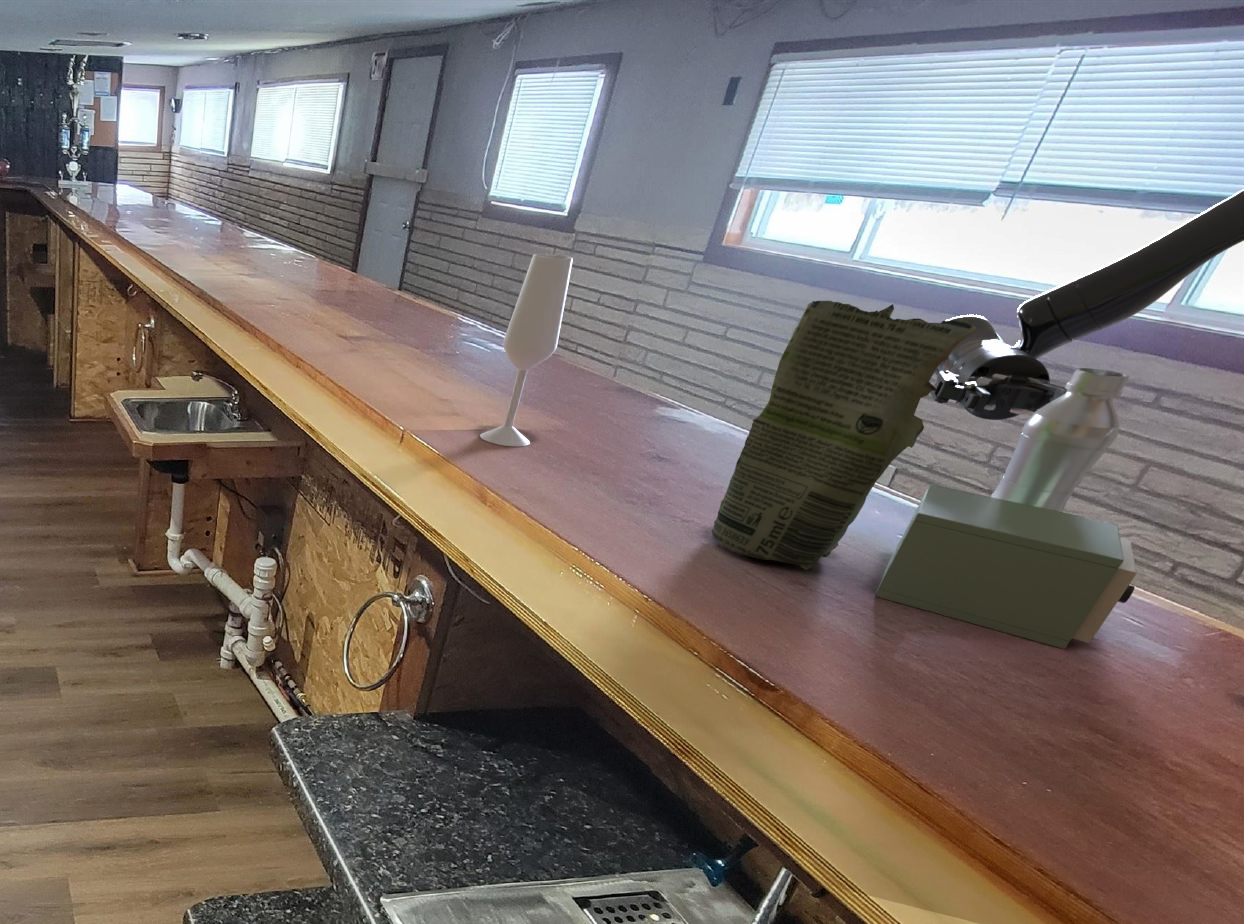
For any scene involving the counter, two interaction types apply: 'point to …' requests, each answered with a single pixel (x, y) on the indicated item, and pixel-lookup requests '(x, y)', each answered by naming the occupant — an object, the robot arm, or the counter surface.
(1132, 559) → the drawer
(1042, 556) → the cabinet
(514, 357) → the champagne flute
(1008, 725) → the counter surface
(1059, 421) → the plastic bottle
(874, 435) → the pouch
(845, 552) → the counter surface
